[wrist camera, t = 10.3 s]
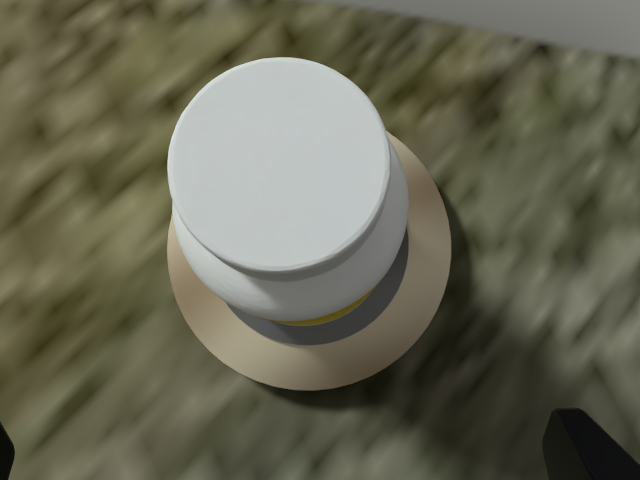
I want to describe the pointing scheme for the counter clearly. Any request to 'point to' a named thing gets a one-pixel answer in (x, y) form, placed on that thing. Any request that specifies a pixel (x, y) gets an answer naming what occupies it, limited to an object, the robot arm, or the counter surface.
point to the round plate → (344, 333)
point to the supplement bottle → (286, 191)
